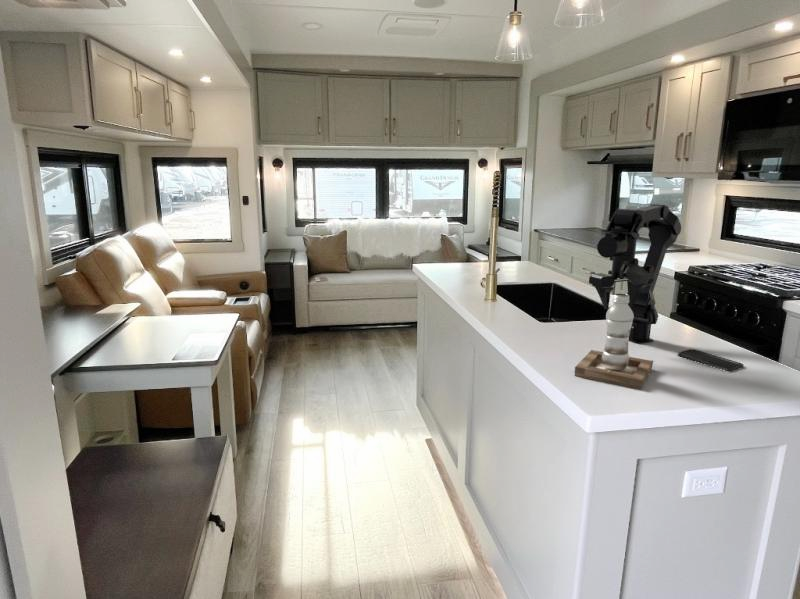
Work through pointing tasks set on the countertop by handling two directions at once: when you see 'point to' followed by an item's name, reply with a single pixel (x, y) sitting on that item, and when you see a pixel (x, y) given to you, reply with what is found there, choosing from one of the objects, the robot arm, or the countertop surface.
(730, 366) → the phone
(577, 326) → the countertop surface
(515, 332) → the countertop surface
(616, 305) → the plastic bottle
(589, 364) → the brown wooden frame
